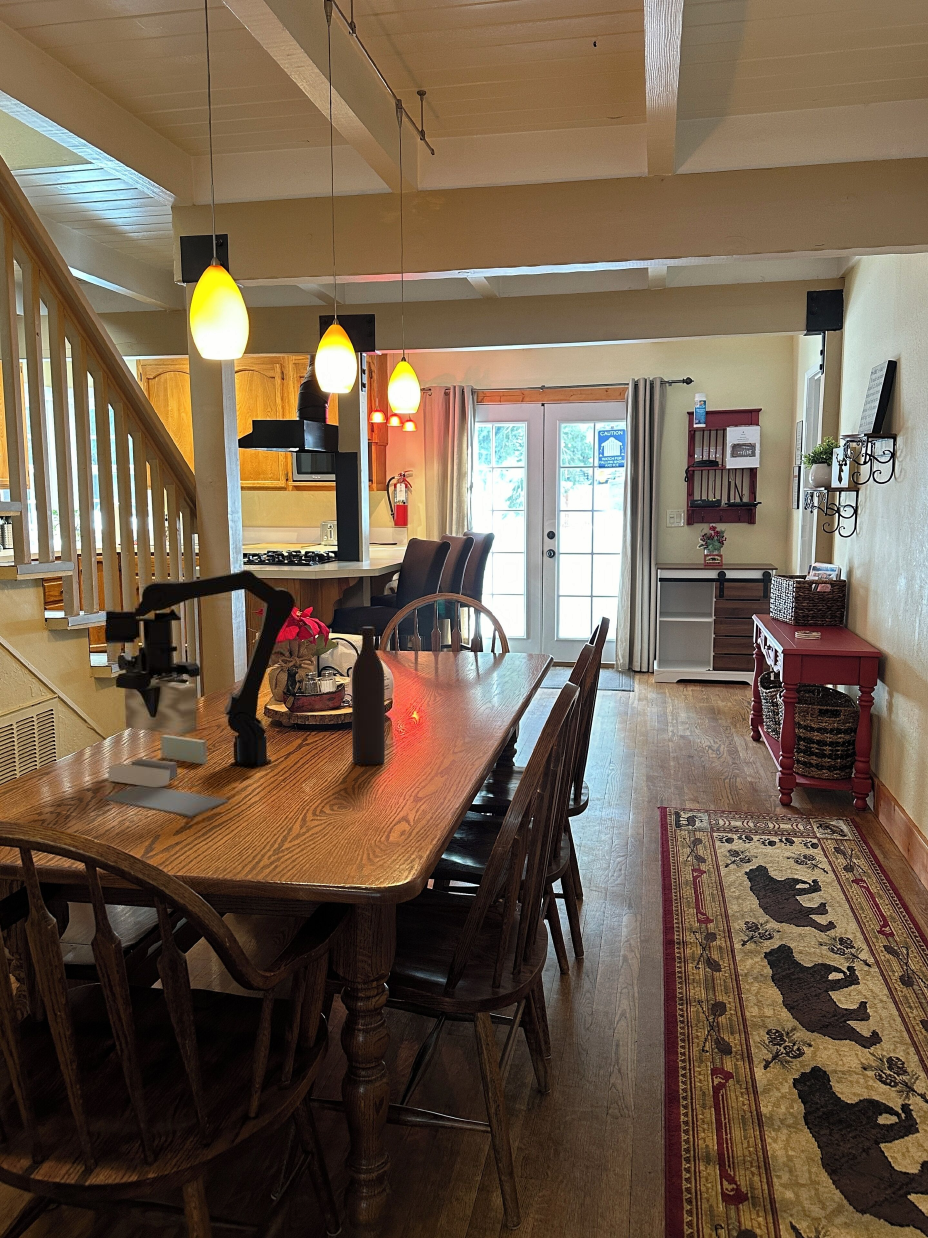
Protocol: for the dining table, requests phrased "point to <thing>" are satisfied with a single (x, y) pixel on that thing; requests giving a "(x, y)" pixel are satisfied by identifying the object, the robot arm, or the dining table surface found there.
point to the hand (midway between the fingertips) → (160, 715)
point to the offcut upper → (158, 766)
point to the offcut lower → (139, 775)
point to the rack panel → (184, 749)
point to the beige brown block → (164, 709)
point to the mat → (166, 800)
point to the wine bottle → (368, 704)
